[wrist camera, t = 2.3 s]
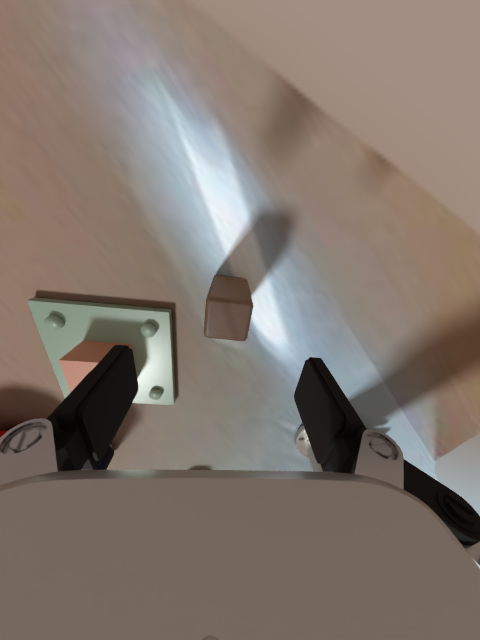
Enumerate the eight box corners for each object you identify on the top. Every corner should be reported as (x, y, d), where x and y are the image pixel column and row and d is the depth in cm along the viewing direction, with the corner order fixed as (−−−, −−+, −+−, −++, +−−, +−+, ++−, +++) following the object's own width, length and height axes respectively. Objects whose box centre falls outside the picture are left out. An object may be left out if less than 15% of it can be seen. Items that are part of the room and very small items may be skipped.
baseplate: (171, 309, 25) (167, 314, 24) (175, 399, 32) (172, 408, 31) (34, 297, 24) (21, 302, 22) (70, 394, 31) (62, 402, 29)
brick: (131, 343, 26) (115, 363, 22) (137, 378, 29) (123, 401, 25) (83, 340, 25) (58, 360, 22) (93, 376, 28) (72, 399, 24)
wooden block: (211, 304, 25) (202, 338, 18) (213, 273, 23) (206, 297, 16) (242, 308, 25) (246, 343, 18) (247, 278, 24) (254, 303, 16)
